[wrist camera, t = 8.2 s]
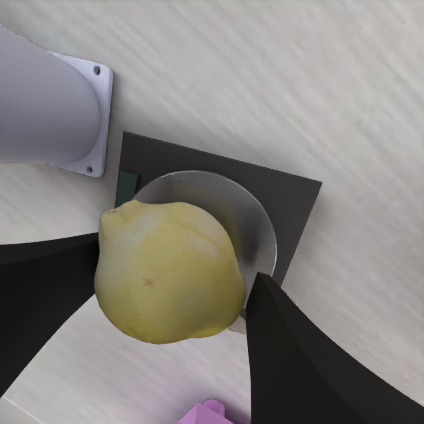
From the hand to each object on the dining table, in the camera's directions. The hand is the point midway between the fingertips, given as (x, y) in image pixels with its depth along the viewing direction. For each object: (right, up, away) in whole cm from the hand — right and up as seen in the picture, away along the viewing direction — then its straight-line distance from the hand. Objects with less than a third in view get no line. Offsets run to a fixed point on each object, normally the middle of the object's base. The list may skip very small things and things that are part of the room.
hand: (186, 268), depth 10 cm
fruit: (+1, 0, +2) cm, 2 cm away
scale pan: (0, +1, +3) cm, 3 cm away
